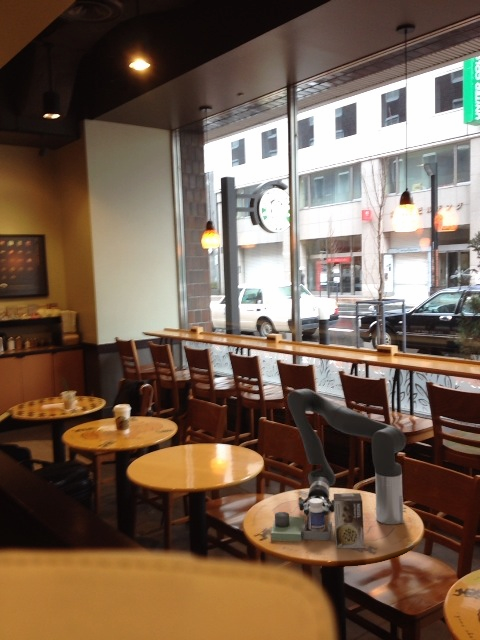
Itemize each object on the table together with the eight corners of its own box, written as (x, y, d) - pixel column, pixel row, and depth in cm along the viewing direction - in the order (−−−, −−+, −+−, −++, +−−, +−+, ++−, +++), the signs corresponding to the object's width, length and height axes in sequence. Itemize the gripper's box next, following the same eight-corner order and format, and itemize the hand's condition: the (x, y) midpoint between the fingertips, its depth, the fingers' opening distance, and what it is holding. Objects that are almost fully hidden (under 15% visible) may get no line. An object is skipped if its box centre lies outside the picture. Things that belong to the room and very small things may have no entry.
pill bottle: (328, 529, 200) (327, 500, 199) (316, 533, 197) (315, 505, 196) (317, 523, 205) (316, 496, 204) (305, 528, 202) (304, 500, 201)
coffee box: (362, 539, 195) (361, 492, 193) (364, 548, 188) (363, 500, 187) (334, 539, 195) (333, 492, 194) (335, 548, 189) (334, 500, 188)
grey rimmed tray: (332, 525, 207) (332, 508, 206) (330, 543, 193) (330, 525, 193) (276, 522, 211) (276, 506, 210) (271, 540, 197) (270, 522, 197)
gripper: (299, 483, 215) (294, 501, 199) (338, 484, 213) (336, 503, 196) (299, 503, 216) (295, 522, 200) (339, 504, 213) (337, 524, 197)
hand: (315, 513), depth 198 cm, fingers closed on pill bottle, 5 cm apart
